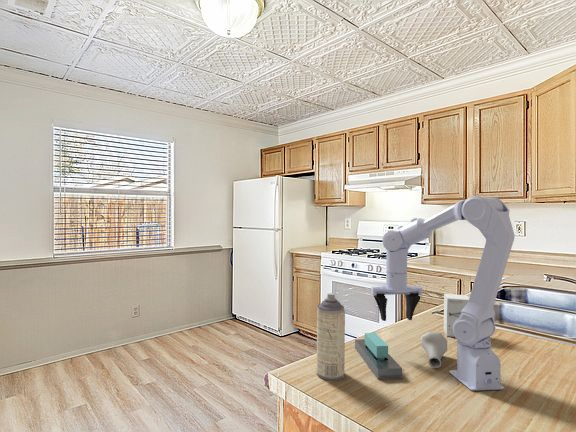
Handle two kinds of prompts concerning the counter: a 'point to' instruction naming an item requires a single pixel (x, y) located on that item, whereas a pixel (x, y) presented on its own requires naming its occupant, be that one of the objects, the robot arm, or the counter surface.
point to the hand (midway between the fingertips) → (396, 319)
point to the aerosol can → (330, 339)
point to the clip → (376, 346)
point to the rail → (379, 363)
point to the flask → (434, 347)
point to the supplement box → (453, 310)
